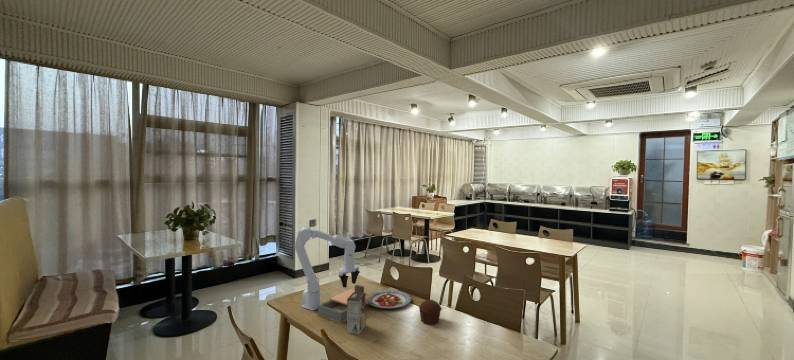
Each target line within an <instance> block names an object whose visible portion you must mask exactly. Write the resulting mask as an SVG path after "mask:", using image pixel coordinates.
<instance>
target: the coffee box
mask: <svg viewBox="0 0 794 360" xmlns="http://www.w3.org/2000/svg"><path fill="white" fill-rule="evenodd" d="M365 294H367V293H366V292H364V293H359V292H353V293H352V294H351V296H350V297H349V298H348V299H347V320H346V321H347V322H346V323H347V324H346V327H347V328H346V329H347V331H346V332H347V333H348V334H355V335H356V334H357V335H361V333H362V332H363V329H364V328H365V327H366V323H367V322H366V315H367V314H366V313H367V312H366V311H367V310H366V309H367V308H366V306H367V305H366V304H367V301H366V295H365Z"/></svg>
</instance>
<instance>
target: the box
mask: <svg viewBox="0 0 794 360" xmlns="http://www.w3.org/2000/svg"><path fill="white" fill-rule="evenodd" d="M320 304H321V305H319V306H318V309H317V316H319V317H321V318H324V319H327V320H329V321H330V320H331V321H334V322H336V323H339V324H342V323H344V322H346V321H347V305H345V304H341V303H338V302H335V301H332V300H330V299H329V300H327V301H325V302H323V303H320Z"/></svg>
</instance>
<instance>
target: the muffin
mask: <svg viewBox="0 0 794 360" xmlns="http://www.w3.org/2000/svg"><path fill="white" fill-rule="evenodd" d="M418 309H419V315H420V321H421V322H422V324H423V325H428V326H435V325H437V324H439V321H440V318H441V317H440V315H441V311H442V309H443V308H442V307H441V305H440V304H439V303H438V302H437V301H436V300H434V299H426V300H424V301H423V302H422V303H421V304H420V305H419V306H418ZM436 323H437V324H436Z"/></svg>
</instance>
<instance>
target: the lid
mask: <svg viewBox="0 0 794 360" xmlns="http://www.w3.org/2000/svg"><path fill="white" fill-rule="evenodd" d="M353 292H359V293H365V286H364V285H360V284H356V285H355V284H354V289H351V288H349V289H348V290H345V291H343V292H341V293H339V294H336V295H335V296H332V297H329V300H332V301H335V302H338V303H341V304H345V305H347V299H348V298H349V297H350V296H351V294H352V293H353ZM370 294H371V293H366V294H365V295H366V300H368V299H370V298H372V297H373V295H370Z"/></svg>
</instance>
